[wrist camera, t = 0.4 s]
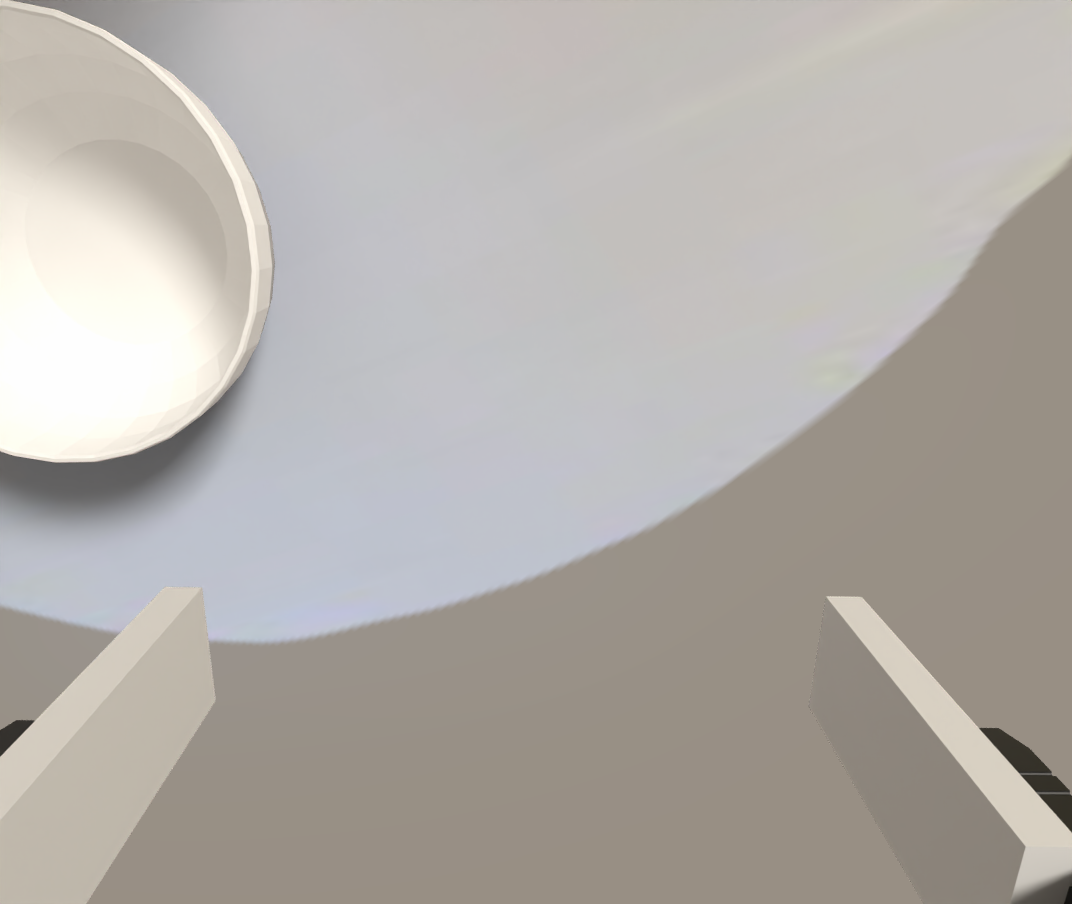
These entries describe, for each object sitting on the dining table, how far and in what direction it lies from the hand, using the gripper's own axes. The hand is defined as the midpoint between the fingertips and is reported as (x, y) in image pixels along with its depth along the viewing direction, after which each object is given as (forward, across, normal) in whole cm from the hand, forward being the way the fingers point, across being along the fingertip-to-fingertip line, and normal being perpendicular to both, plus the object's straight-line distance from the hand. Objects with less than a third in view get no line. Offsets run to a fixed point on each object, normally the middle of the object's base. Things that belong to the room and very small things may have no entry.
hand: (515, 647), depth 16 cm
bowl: (+28, -21, +7) cm, 35 cm away
